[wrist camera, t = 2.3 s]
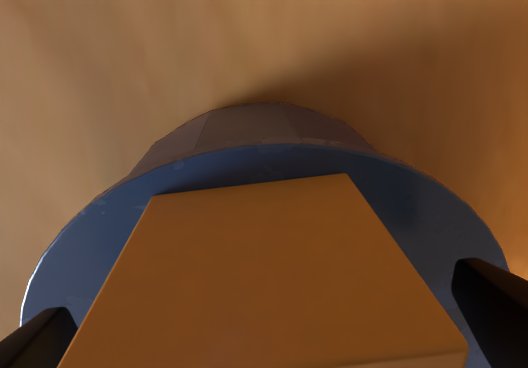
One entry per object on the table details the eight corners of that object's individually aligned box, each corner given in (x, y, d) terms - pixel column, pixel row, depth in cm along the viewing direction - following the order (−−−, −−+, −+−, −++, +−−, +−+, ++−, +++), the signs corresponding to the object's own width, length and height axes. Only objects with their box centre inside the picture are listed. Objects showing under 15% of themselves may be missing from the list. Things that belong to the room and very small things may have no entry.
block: (345, 312, 9) (424, 531, 5) (191, 330, 9) (150, 565, 5) (346, 171, 7) (474, 345, 3) (151, 194, 7) (34, 399, 3)
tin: (389, 320, 20) (449, 441, 14) (160, 348, 20) (125, 480, 14) (412, 83, 14) (537, 123, 8) (78, 122, 14) (-47, 191, 8)
